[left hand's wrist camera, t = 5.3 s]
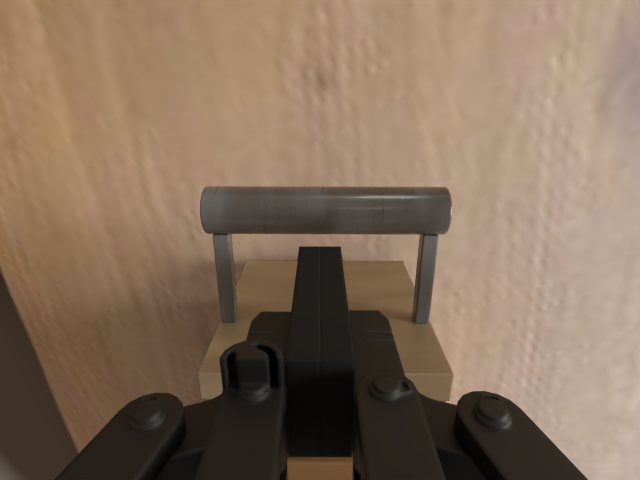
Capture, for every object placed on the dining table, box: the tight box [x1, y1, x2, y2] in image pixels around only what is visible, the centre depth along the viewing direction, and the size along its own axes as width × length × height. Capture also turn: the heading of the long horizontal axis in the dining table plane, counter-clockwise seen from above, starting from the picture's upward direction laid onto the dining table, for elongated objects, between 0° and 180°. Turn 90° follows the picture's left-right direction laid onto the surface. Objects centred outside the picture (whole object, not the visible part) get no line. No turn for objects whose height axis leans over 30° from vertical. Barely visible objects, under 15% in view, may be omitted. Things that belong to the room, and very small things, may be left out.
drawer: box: [198, 186, 454, 401], centre depth 20 cm, size 23×9×10 cm, turn 0°
